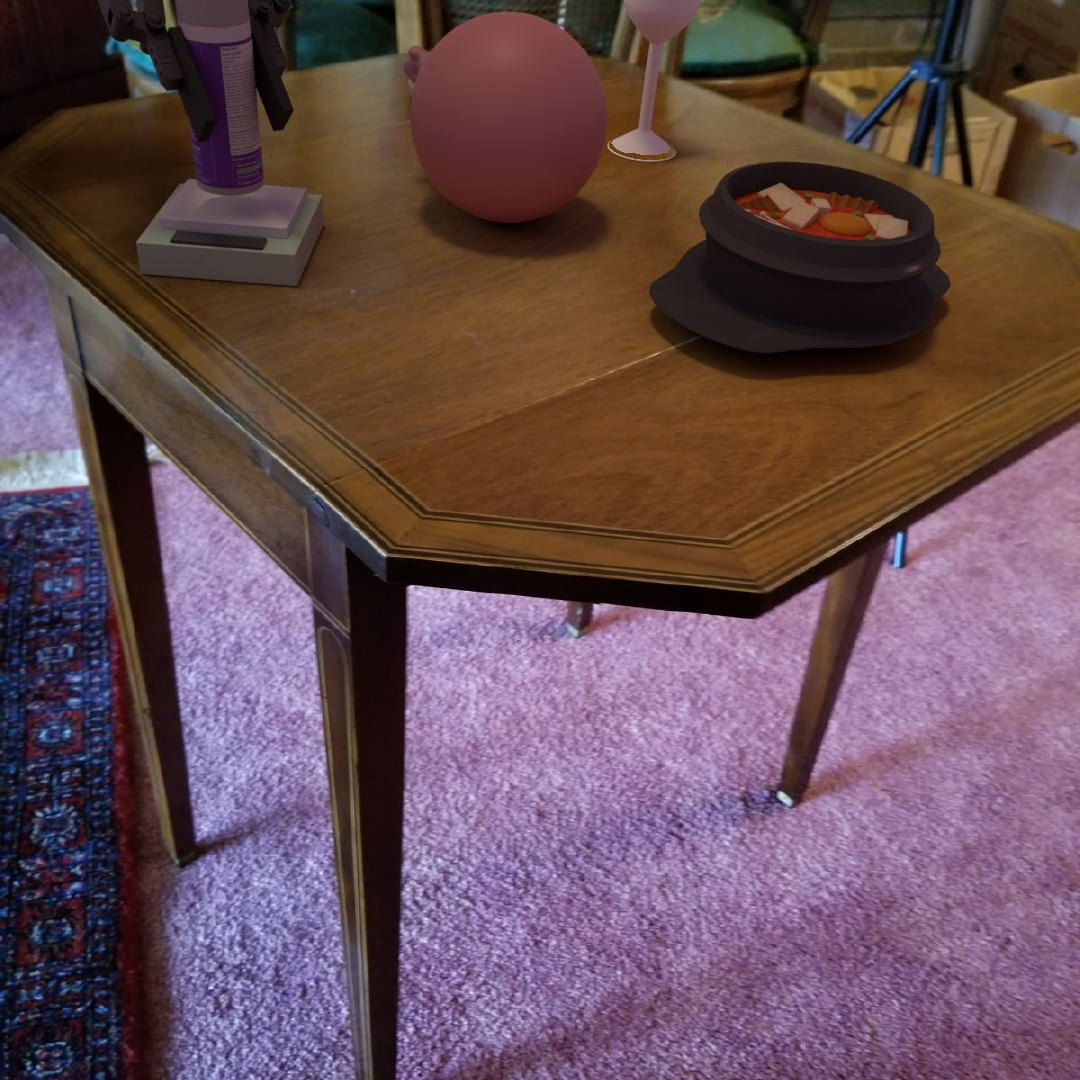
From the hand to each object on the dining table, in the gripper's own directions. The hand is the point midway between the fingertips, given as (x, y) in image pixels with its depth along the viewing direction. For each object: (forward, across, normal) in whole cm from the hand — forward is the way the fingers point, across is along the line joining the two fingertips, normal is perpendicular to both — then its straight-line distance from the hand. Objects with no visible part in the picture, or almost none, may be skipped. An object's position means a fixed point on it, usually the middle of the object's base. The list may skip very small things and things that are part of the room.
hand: (245, 125), depth 73 cm
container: (+1, 0, +6) cm, 7 cm away
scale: (+5, 0, +10) cm, 11 cm away
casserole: (+24, +32, -9) cm, 41 cm away
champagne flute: (+2, +43, +13) cm, 45 cm away
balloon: (+6, +22, +9) cm, 24 cm away
